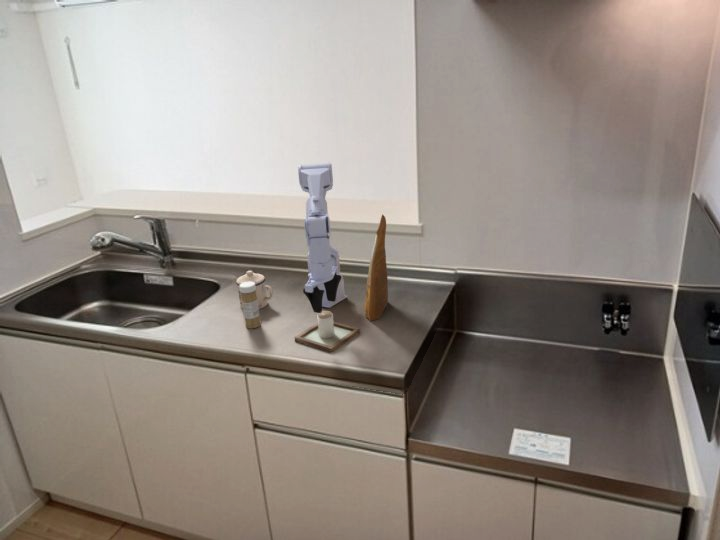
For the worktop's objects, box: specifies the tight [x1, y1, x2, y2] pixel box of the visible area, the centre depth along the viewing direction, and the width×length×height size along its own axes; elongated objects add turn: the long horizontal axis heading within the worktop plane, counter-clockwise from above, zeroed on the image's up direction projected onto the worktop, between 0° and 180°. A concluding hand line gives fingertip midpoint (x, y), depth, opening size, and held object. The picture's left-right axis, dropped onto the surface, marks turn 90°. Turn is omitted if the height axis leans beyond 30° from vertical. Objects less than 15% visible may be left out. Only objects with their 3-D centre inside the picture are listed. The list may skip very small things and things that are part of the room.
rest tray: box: [294, 320, 361, 353], centre depth 159 cm, size 13×13×1 cm
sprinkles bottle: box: [239, 282, 262, 329], centre depth 166 cm, size 5×5×14 cm
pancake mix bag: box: [364, 213, 389, 322], centre depth 169 cm, size 7×19×28 cm, turn 165°
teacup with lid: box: [236, 270, 274, 310], centre depth 180 cm, size 12×9×12 cm
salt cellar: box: [316, 310, 335, 339], centre depth 158 cm, size 4×4×7 cm
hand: (324, 306), depth 156 cm, fingers open, 7 cm apart
